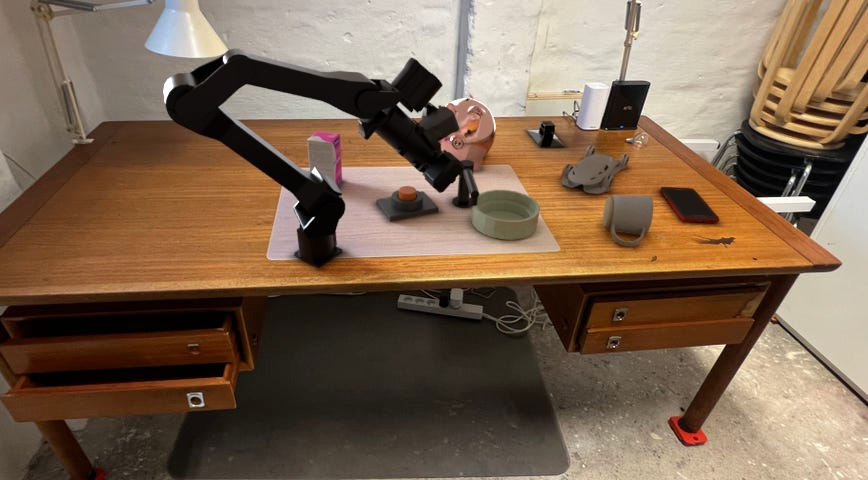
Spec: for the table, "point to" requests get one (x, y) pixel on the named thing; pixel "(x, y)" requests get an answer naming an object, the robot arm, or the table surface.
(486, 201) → the basin
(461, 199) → the black faucet base
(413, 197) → the orange button
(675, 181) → the table surface
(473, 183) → the spout
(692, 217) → the cell phone
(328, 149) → the supplement box
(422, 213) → the button panel
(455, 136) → the piggy bank
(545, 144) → the build plate
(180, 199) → the table surface
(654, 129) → the table surface
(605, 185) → the grey flat lobed piece
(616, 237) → the ceramic mug
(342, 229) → the table surface
